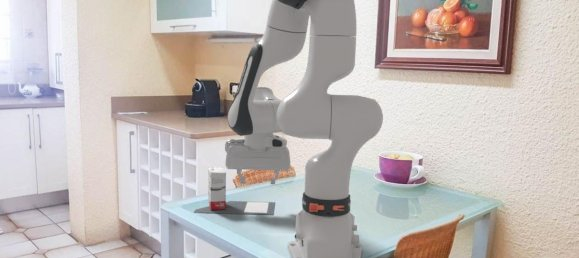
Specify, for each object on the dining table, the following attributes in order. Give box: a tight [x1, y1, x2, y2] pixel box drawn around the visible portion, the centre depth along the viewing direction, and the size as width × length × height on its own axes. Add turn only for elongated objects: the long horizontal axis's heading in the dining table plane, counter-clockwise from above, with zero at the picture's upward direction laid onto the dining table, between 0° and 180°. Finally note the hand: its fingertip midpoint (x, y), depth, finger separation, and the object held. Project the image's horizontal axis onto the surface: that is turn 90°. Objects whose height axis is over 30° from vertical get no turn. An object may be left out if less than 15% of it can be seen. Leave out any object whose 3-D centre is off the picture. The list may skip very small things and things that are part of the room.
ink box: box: [207, 166, 227, 210], centre depth 145 cm, size 9×5×12 cm, turn 15°
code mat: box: [193, 200, 276, 216], centre depth 145 cm, size 13×24×1 cm, turn 89°
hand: (257, 183), depth 144 cm, fingers open, 8 cm apart
